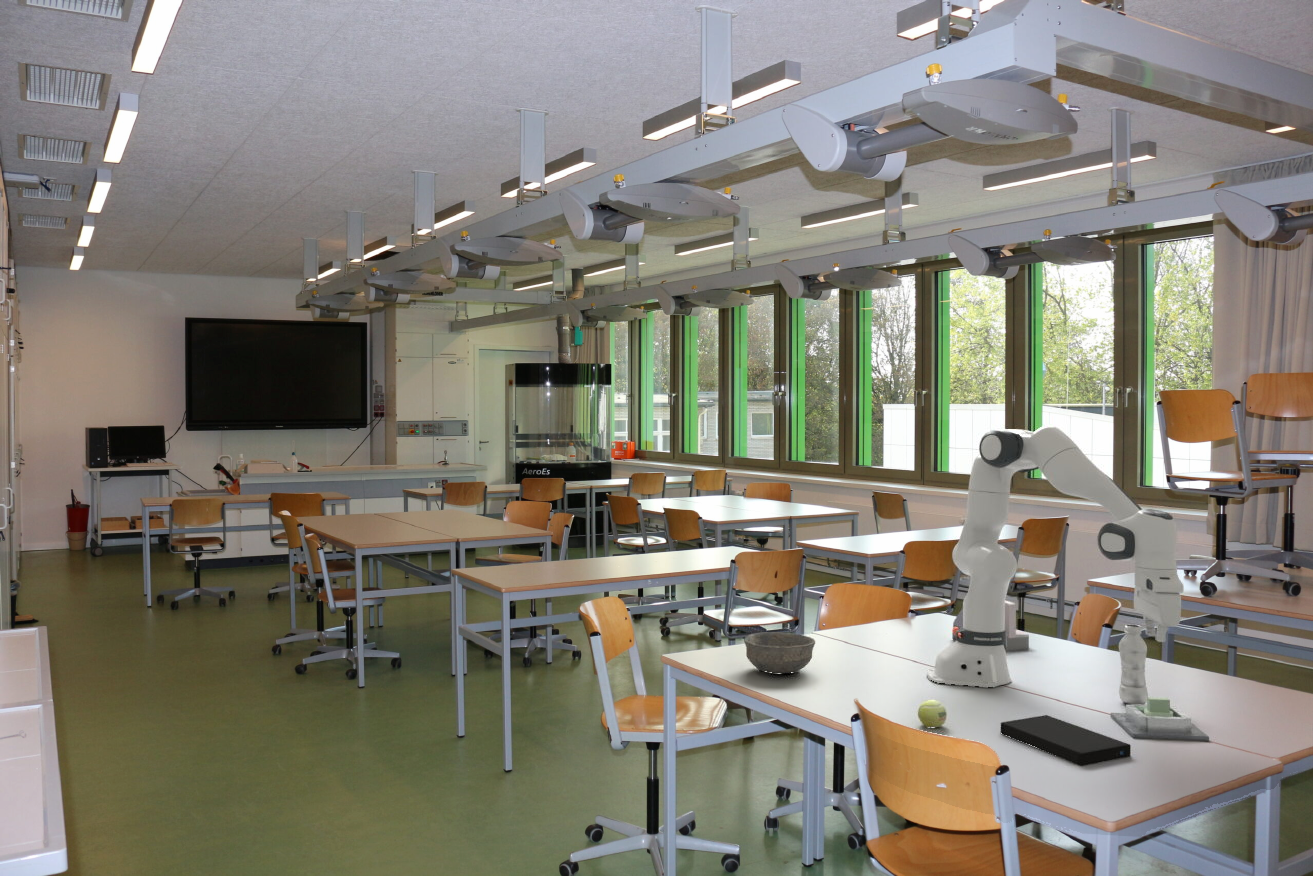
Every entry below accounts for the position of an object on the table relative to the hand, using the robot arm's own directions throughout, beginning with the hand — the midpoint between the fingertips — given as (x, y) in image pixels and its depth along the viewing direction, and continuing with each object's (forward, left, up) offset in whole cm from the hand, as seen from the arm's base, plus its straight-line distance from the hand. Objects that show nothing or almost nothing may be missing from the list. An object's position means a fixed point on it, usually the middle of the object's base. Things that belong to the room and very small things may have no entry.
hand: (1155, 638), depth 222 cm
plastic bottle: (+1, +20, -21) cm, 29 cm away
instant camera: (-22, +86, -22) cm, 91 cm away
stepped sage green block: (+1, 0, -20) cm, 20 cm away
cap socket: (0, 0, -21) cm, 21 cm away
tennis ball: (-51, -5, -21) cm, 56 cm away
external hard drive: (-24, -15, -22) cm, 36 cm away
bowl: (-89, +40, -21) cm, 99 cm away
